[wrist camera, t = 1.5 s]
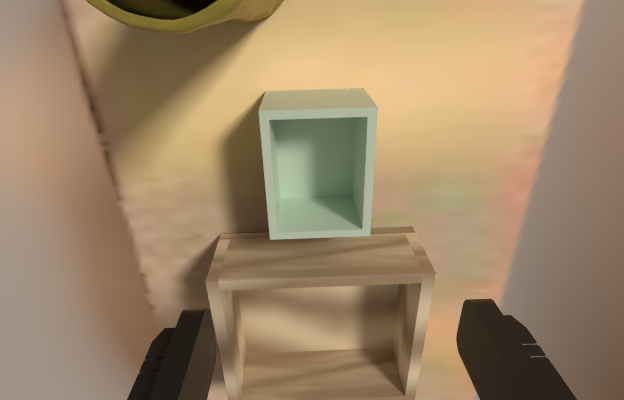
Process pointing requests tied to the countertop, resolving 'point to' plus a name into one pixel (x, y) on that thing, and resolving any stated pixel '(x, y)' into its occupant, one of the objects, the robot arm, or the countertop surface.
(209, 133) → the countertop surface
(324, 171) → the crate small
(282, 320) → the crate large
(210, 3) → the vase
